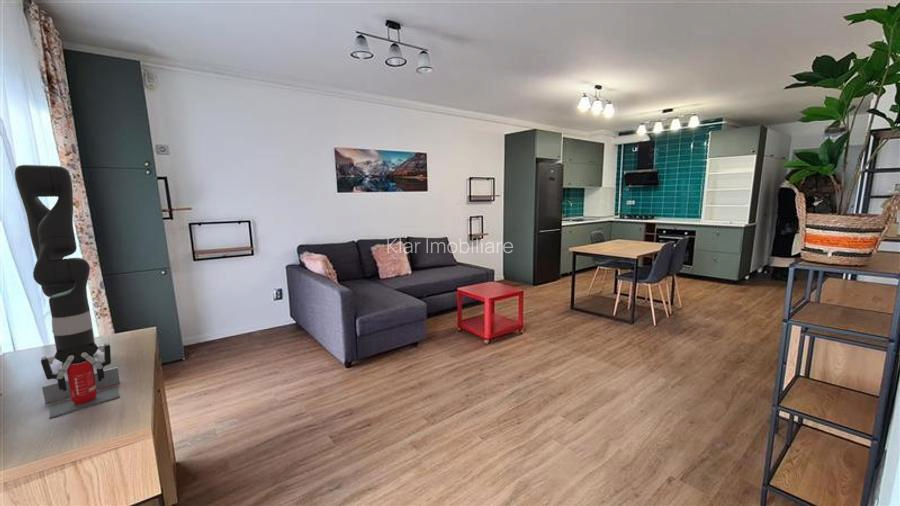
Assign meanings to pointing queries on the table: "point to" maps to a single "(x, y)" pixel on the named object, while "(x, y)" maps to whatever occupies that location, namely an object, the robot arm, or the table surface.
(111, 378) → the low wall
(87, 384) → the beverage can
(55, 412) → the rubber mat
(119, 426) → the table surface
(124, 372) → the table surface
